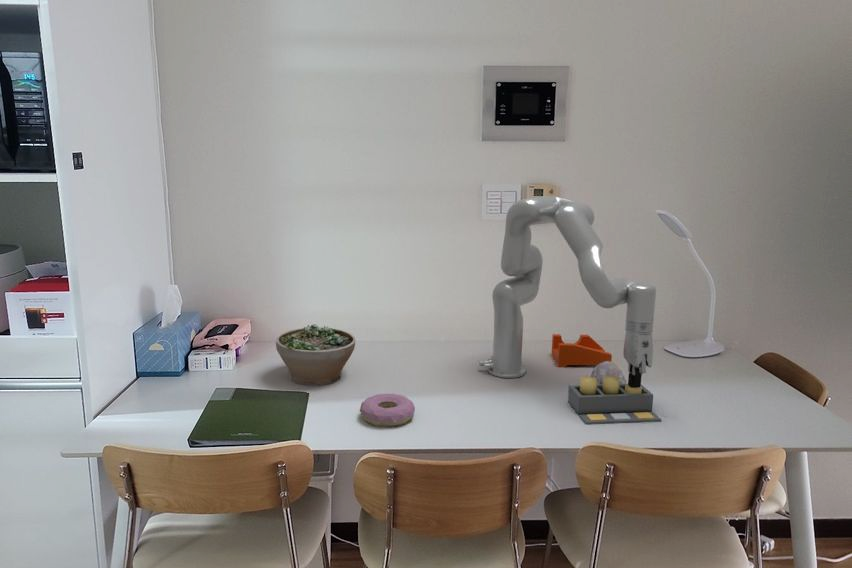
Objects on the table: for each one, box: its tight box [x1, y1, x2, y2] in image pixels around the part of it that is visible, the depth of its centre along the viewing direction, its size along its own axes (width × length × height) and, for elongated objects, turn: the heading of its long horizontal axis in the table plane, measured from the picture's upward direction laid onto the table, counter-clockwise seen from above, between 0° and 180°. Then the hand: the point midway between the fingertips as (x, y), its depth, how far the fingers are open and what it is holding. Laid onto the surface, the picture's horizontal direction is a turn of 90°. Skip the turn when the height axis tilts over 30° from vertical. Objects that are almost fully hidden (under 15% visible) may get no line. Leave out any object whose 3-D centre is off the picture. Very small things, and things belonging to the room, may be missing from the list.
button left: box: [579, 375, 597, 396], centre depth 194 cm, size 5×5×5 cm
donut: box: [359, 393, 416, 428], centre depth 187 cm, size 16×15×5 cm
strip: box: [578, 411, 662, 425], centre depth 189 cm, size 22×5×1 cm, turn 97°
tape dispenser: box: [551, 333, 613, 368], centre depth 235 cm, size 18×13×8 cm
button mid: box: [602, 375, 620, 395], centre depth 195 cm, size 5×5×5 cm
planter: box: [275, 323, 356, 387], centre depth 216 cm, size 26×25×15 cm
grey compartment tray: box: [567, 383, 654, 416], centre depth 196 cm, size 22×9×6 cm, turn 97°
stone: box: [590, 361, 627, 385], centre depth 214 cm, size 17×10×10 cm
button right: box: [625, 383, 642, 394], centre depth 196 cm, size 5×5×5 cm
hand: (634, 386), depth 196 cm, fingers closed
